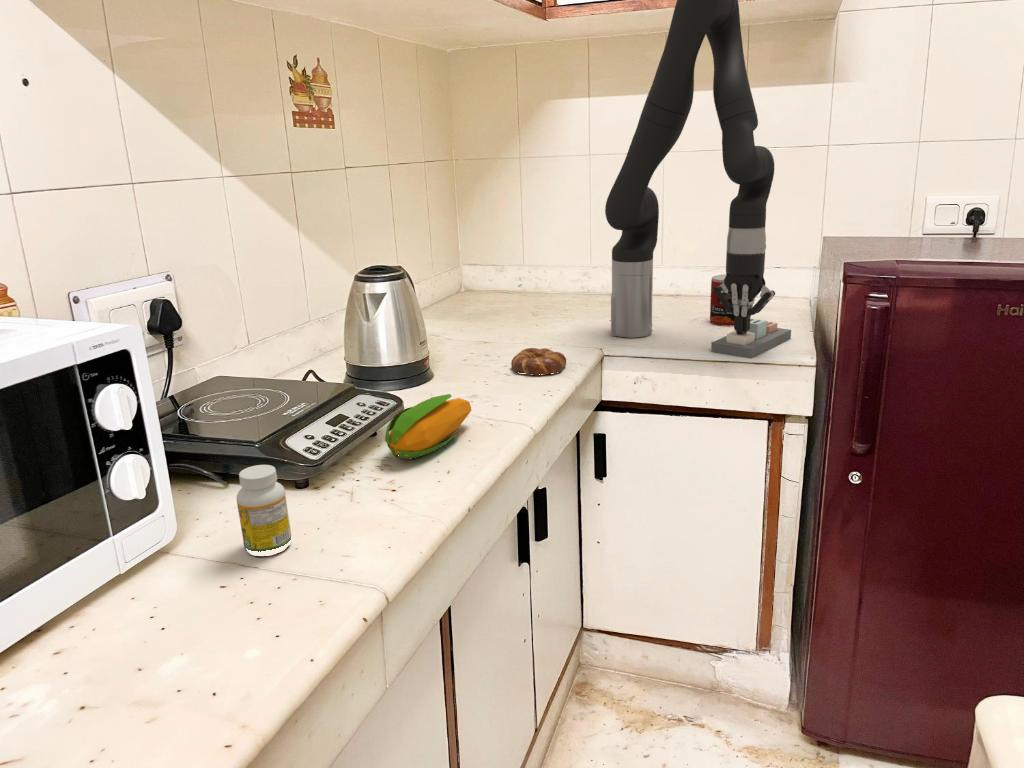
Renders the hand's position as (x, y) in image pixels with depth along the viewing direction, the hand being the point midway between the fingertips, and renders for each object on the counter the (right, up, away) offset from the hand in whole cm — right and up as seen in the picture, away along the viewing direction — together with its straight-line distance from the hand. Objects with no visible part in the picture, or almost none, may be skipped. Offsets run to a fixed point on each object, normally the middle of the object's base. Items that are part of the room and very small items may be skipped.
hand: (741, 333), depth 160 cm
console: (+4, -2, +5) cm, 7 cm away
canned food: (+4, +4, +25) cm, 26 cm away
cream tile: (0, -3, +1) cm, 4 cm away
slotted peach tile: (+7, -1, +9) cm, 12 cm away
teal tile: (+4, -1, +5) cm, 6 cm away
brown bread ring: (-43, -8, -5) cm, 44 cm away
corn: (-60, -20, -41) cm, 76 cm away
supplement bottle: (-76, -30, -70) cm, 108 cm away
